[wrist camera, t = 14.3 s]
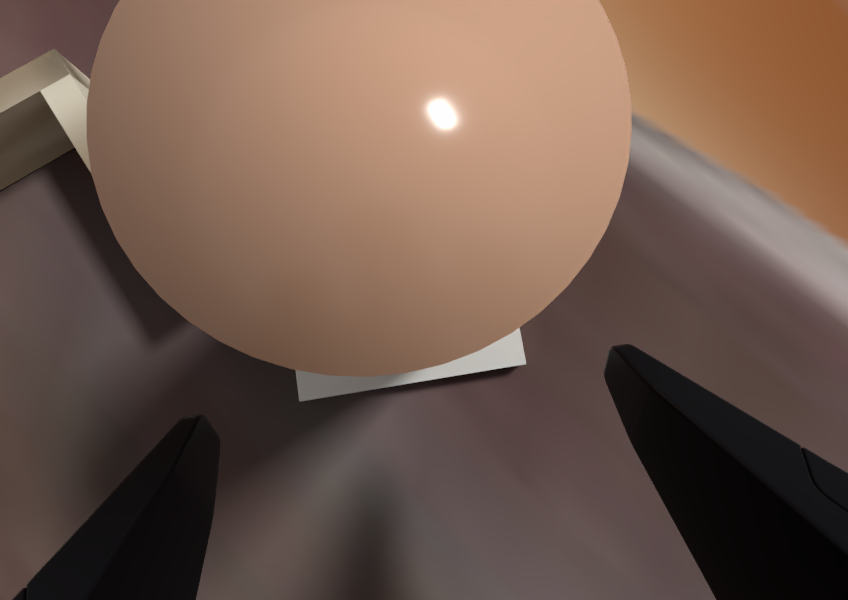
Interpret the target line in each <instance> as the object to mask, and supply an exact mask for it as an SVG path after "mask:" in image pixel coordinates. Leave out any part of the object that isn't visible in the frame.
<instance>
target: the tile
mask: <svg viewBox="0 0 848 600" xmlns="http://www.w3.org/2000/svg"><path fill="white" fill-rule="evenodd" d="M524 364H526V360H525V355H524V349H523V344H522V339H521V333H520V328H518V329H517V330H515V331H514V332H512V333H511V334H509V335H507V336H505V337H504V338H502V339H500V340H498V341H496V342H494V343H492V344H491V345H489V346H487V347H485V348H483V349H481V350H479V351H477V352H475V353H472V354H469V355H467V356H464V357H461V358H459V359H456V360H453V361H451V362H448V363H445V364H443V365H438V366H434V367H430V368H426V369H421V370H417V371H413V372H408V373H402V374H391V375H381V376H371V377H358V376H330V375H323V374H317V373H311V372H306V371H300V370H295V371H296V379H297V387H298V396H299V402H301V401H307V400H313V399H319V398H325V397H331V396H337V395H343V394H349V393H355V392H361V391H367V390H373V389H379V388H385V387H391V386H397V385H403V384H409V383H415V382H421V381H427V380H433V379H439V378H446V377H452V376H458V375H464V374H470V373H476V372H482V371H488V370H494V369H500V368H506V367H512V366H518V365H524Z"/></svg>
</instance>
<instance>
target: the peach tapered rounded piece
mask: <svg viewBox="0 0 848 600" xmlns="http://www.w3.org/2000/svg"><path fill="white" fill-rule="evenodd" d="M631 133H632V125H631V97H630V91H629V85H628V79H627V73H626V67H625V64H624V60H623V57H622V54H621V51H620V47H619V45H618V41H617V38H616V35H615V33H614V31H613V29H612V26H611V24H610V22H609V20H608V18H607V15H606V13H605V11H604V9H603V7H602V5H601V4H600V2H599V1H598V0H120V1H119V3H118V4H117V6H116V7H115V9H114V11H113V14H112V16H111V18H110V20H109V22H108V25H107V27H106V29H105V31H104V34H103V36H102V38H101V41H100V44H99V48H98V51H97V54H96V58H95V61H94V65H93V68H92V71H91V78H90V85H89V92H88V99H87V146H88V153H89V160H90V167H91V174H92V177H93V180H94V184H95V187H96V191H97V194H98V197H99V201H100V204H101V207H102V209H103V212H104V214H105V216H106V218H107V220H108V222H109V225H110V227H111V229H112V231H113V233H114V235H115V238H116V240H117V241H118V243H119V244H120V246H121V247H122V249H123V250H124V252H125V253H126V255H127V257H128V258H129V260H130V261H131V263H132V264H133V266H134V267H135V269H136V270H137V271H138V272H139V274H140V275H141V276H142V277H143V278H144V279H145V280H146V282H147V283H148V284H149V285H150V286H151V287H152V288H153V290H154V291H155V292H156V293H157V294H158V295H159V296H160V297H161V298H162V299H163V300H164V301H165V302H166V303H168V304H169V305H170V306H171V307H172V308H173V309H175V310H176V311H177V312H178V313H179V314H180V315H181V316H183V317H184V318H185V319H186V320H187V321H189V322H190V323H192V324H193V325H195V326H196V327H198V328H199V329H201V330H203V331H204V332H206V333H207V334H209V335H210V336H212V337H213V338H215V339H216V340H218V341H220V342H222V343H224V344H226V345H228V346H230V347H232V348H235V349H237V350H239V351H241V352H243V353H245V354H247V355H250V356H252V357H254V358H257V359H260V360H263V361H267V362H270V363H273V364H276V365H280V366H283V367H286V368H289V369H294V370H300V371H306V372H311V373H317V374H323V375H330V376H358V377H371V376H381V375H391V374H402V373H408V372H413V371H417V370H421V369H426V368H430V367H434V366H438V365H443V364H445V363H448V362H451V361H453V360H456V359H459V358H461V357H464V356H467V355H469V354H472V353H475V352H477V351H479V350H481V349H483V348H485V347H487V346H489V345H491V344H492V343H494V342H496V341H498V340H500V339H502V338H504V337H505V336H507V335H509V334H511V333H512V332H514V331H515V330H517V329H518V328H519V327H521V326H522V325H523V324H525V323H526V322H528V321H529V320H530V319H532V318H533V317H534V316H536V315H537V314H538V313H540V312H541V311H542V310H543V309H544V308H545V307H546V306H547V305H548V304H550V303H551V302H552V301H553V300H554V299H555V298H556V297H557V296H558V295H559V294H560V293H561V292H562V291H563V290H564V289H565V288H566V287H567V286H568V285H569V284H570V282H571V281H572V280H573V279H574V277H575V276H576V275H577V273H578V272H579V271H580V270H581V268H582V267H583V266H584V265H585V263H586V262H587V261H588V259H589V258H590V256H591V255H592V253H593V251H594V250H595V248H596V246H597V244H598V243H599V241H600V239H601V238H602V236H603V234H604V232H605V231H606V229H607V227H608V224H609V222H610V219H611V217H612V215H613V212H614V210H615V207H616V205H617V202H618V200H619V198H620V194H621V190H622V186H623V182H624V178H625V174H626V170H627V167H628V160H629V151H630V142H631Z"/></svg>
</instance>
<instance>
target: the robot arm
mask: <svg viewBox="0 0 848 600" xmlns="http://www.w3.org/2000/svg"><path fill="white" fill-rule="evenodd" d="M604 377H605V381H606V384H607V386H608V388H609V391H610V393H611V396H612V398H613V401H614V403H615V406H616V408H617V410H618V413H619V415H620V418H621V420H622V423H623V425H624V427H625V430H626V432H627V435H628V437H629V439H630V441H631V443H632V445H633V447H634V449H635V451H636V453H637V455H638V457H639V459H640V460H641V462H642V464H643V466H644V468H645V470H646V471H647V473H648V475H649V477H650V479H651V481H652V482H653V484H654V486H655V488H656V490H657V492H658V493H659V495H660V497H661V499H662V501H663V503H664V504H665V506H666V508H667V510H668V512H669V514H670V515H671V517H672V519H673V521H674V523H675V525H676V526H677V528H678V530H679V532H680V534H681V536H682V537H683V539H684V541H685V543H686V545H687V547H688V548H689V550H690V552H691V554H692V556H693V558H694V559H695V561H696V563H697V565H698V567H699V569H700V570H701V572H702V574H703V576H704V578H705V580H706V581H707V583H708V585H709V587H710V589H711V591H712V592H713V594H714V596H715V598H716V600H848V473H847V472H845V471H844V470H842V469H840V468H838V467H837V466H835V465H833V464H831V463H830V462H828V461H826V460H825V459H823V458H821V457H820V456H818V455H816V454H815V453H813V452H811V451H809V450H808V449H806V448H801V446H800V445H799V444H797V443H796V442H794V441H792V440H791V439H789V438H787V437H786V436H784V435H782V434H781V433H779V432H777V431H776V430H774V429H772V428H771V427H769V426H767V425H766V424H764V423H762V422H761V421H759V420H757V419H755V418H754V417H752V416H750V415H749V414H747V413H745V412H744V411H742V410H740V409H739V408H737V407H735V406H734V405H732V404H730V403H729V402H727V401H725V400H724V399H722V398H720V397H719V396H717V395H715V394H713V393H712V392H710V391H708V390H707V389H705V388H703V387H702V386H700V385H698V384H697V383H695V382H693V381H692V380H690V379H688V378H687V377H685V376H683V375H682V374H680V373H678V372H677V371H675V370H673V369H672V368H670V367H668V366H666V365H665V364H663V363H661V362H660V361H658V360H656V359H655V358H653V357H651V356H650V355H648V354H646V353H645V352H643V351H641V350H640V349H638V348H636V347H635V346H633V345H630V344H624V345H618V346H613V347H611V348H610V350H609V353H608V357H607V362H606V366H605V370H604ZM219 456H220V439H219V436H218V434H217V433H216V431H215V430H214V428H213V426H212V425H211V423H210V422H209V420H208V419H207V417H206V416H204V415H202V414H198V415H192V416H187V417H184V418H182V419H181V420H179V421H178V423H177V424H176V425H175V426H174V427H173V428H172V429H171V430H170V431H169V432H168V433H167V434H166V435H165V436H164V438H163V439H162V440H161V441H160V442H159V443H158V444H157V445H156V446H155V447H154V448H153V449H152V450H151V451H150V453H149V454H148V455H147V456H146V457H145V458H144V459H143V460H142V461H141V462H140V463H139V464H138V465H137V467H136V468H135V469H134V470H133V471H132V472H131V473H130V474H129V475H128V476H127V477H126V478H125V479H124V480H123V482H122V483H121V484H120V485H119V486H118V487H117V488H116V489H115V490H114V491H113V492H112V493H111V494H110V496H109V497H108V498H107V499H106V500H105V501H104V502H103V503H102V504H101V505H100V506H99V507H98V508H97V509H96V511H95V512H94V513H93V514H92V515H91V516H90V517H89V518H88V519H87V520H86V521H85V522H84V523H83V525H82V526H81V527H80V528H79V529H78V530H77V531H76V532H75V533H74V534H73V535H72V536H71V537H70V538H69V540H68V541H67V542H66V543H65V544H64V545H63V546H62V547H61V548H60V549H59V550H58V551H57V552H56V554H55V555H54V556H53V557H52V558H51V559H50V560H49V561H48V562H47V563H46V564H45V565H44V566H43V567H42V569H41V570H40V571H39V572H38V573H37V574H36V575H35V576H34V577H33V578H32V579H31V580H30V581H29V582H28V584H27V588H23V589H22V590H21V591H20V592H19V593H18V594H17V595H16V596H15V597H14V598H13V599H12V600H196V596H197V591H198V586H199V582H200V577H201V572H202V568H203V563H204V558H205V553H206V549H207V544H208V539H209V535H210V530H211V525H212V519H213V514H214V506H215V496H216V486H217V476H218V466H219Z"/></svg>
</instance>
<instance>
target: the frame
mask: <svg viewBox="0 0 848 600" xmlns="http://www.w3.org/2000/svg"><path fill="white" fill-rule="evenodd" d="M89 85H90V79H89V78H88V77H86V76H85V75H84V74H83V73H82V72H81V71H79V70H78V69H77V68H76V67H75V66H74V65H72V64H71V63H70V62H69V61H68V60H67V59H65V58H64V57H63V56H62V55H61V54H59V53H58V52H57V51H56V50H55V49H53V50H51V51H49V52H47V53H45V54H44V55H42V56H40V57H38V58H36V59H35V60H33V61H31V62H29V63H27V64H26V65H24V66H22V67H20V68H18V69H16V70H15V71H13V72H11V73H9V74H7V75H6V76H4V77H2V78H0V190H2V189H4V188H6V187H7V186H9V185H11V184H13V183H14V182H16V181H18V180H20V179H21V178H23V177H25V176H26V175H28V174H30V173H32V172H33V171H35V170H37V169H39V168H40V167H42V166H44V165H46V164H47V163H49V162H51V161H52V160H54V159H56V158H58V157H59V156H61V155H63V154H65V153H66V152H68V151H70V150H72V149H73V148H76V150H77V151H78V153H79V155H80V156H81V158H82V160H83V161H84V163H85V164H86V166H87V168H88V169H89V171H90V172H91V167H90V160H89V153H88V146H87V99H88V92H89Z"/></svg>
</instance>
